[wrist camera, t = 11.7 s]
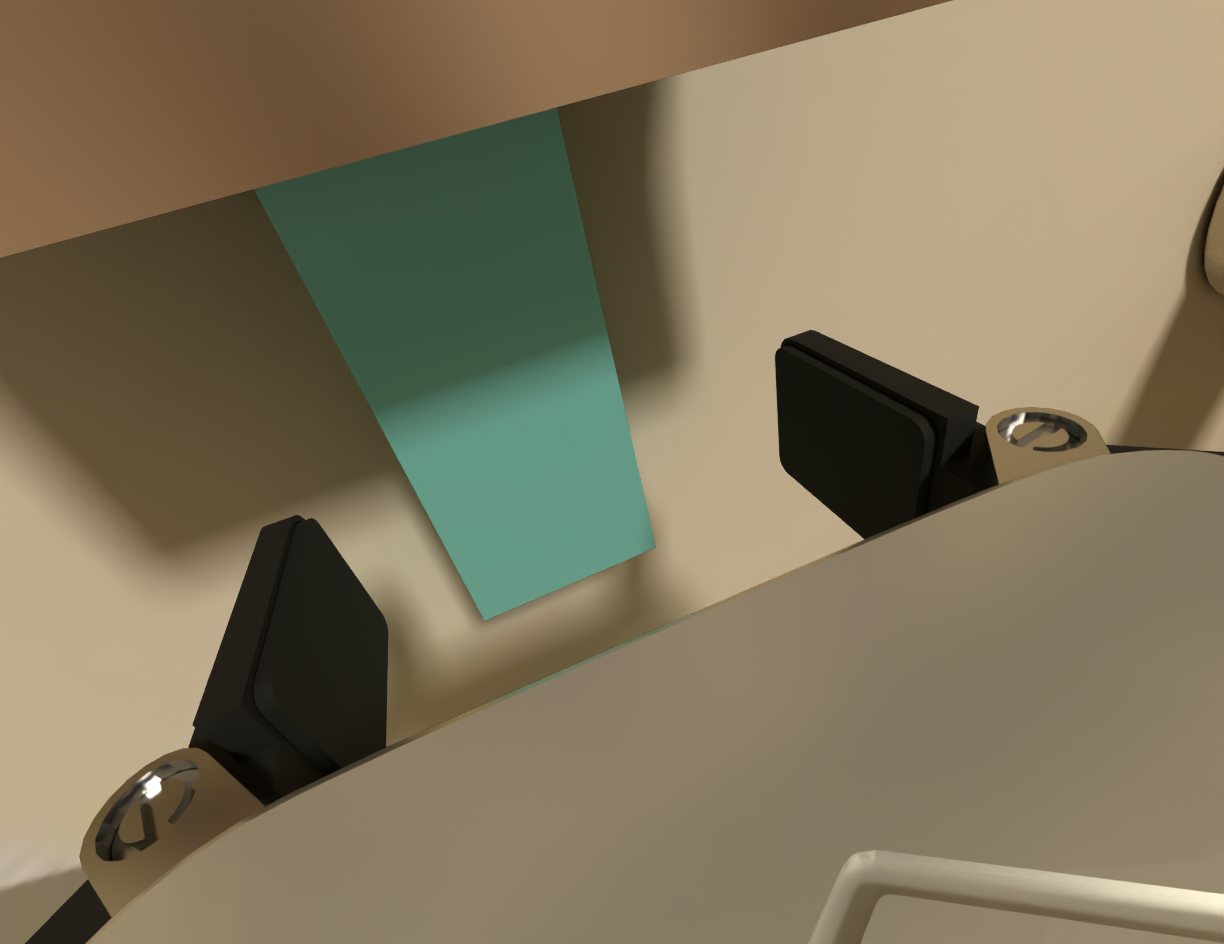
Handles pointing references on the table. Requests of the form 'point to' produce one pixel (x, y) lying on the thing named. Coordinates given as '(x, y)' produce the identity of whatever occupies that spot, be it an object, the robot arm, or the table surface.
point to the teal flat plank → (479, 348)
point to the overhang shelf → (317, 85)
